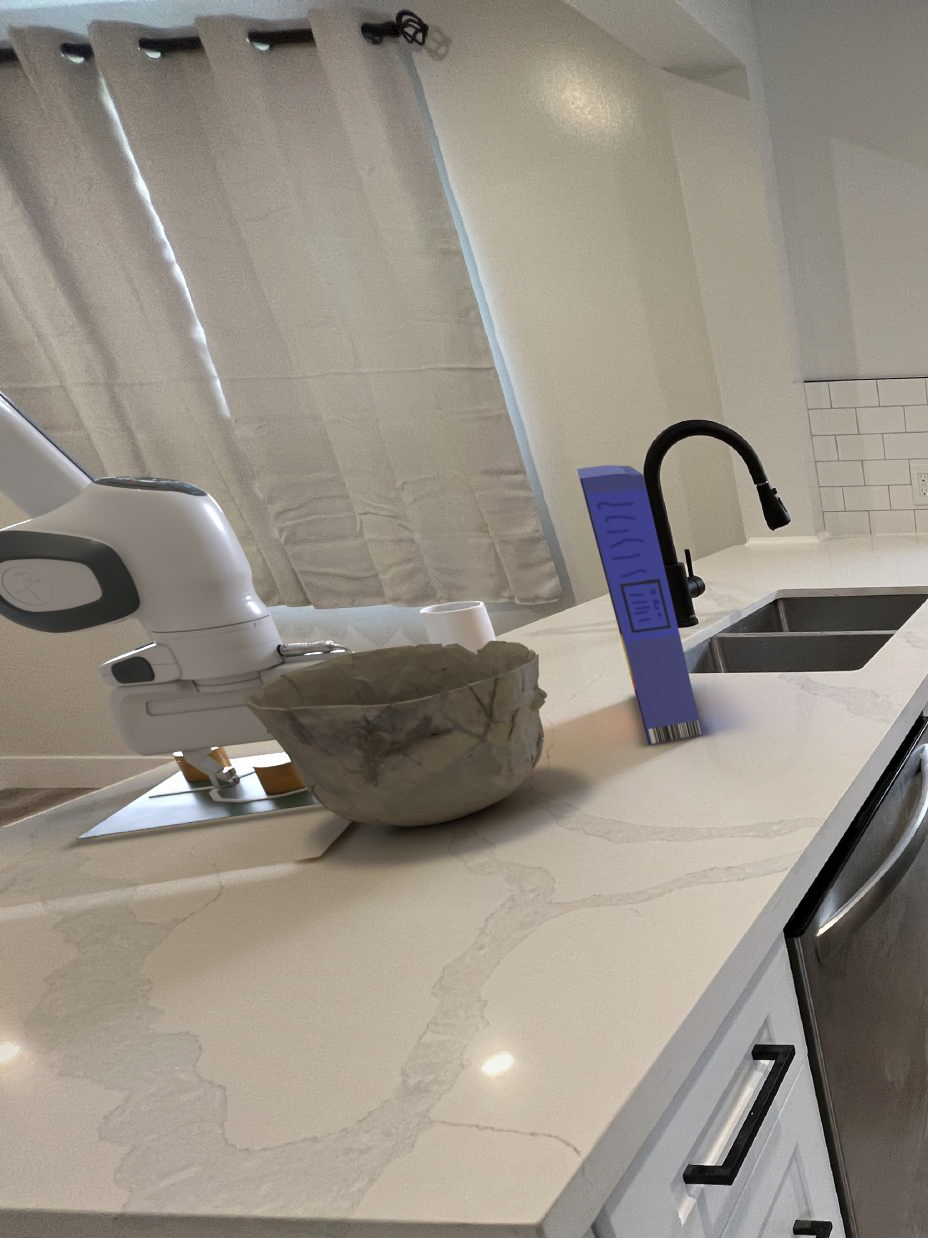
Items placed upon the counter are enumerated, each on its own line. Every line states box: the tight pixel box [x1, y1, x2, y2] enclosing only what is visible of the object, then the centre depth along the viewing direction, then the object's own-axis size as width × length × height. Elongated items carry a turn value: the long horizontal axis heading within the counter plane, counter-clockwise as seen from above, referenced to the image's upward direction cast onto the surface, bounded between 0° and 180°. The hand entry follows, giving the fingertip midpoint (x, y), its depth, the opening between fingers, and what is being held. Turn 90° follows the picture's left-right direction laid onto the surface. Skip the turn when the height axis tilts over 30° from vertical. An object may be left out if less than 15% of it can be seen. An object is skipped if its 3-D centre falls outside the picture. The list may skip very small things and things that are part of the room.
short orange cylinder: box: [172, 746, 233, 781], centre depth 94 cm, size 4×4×3 cm
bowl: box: [244, 640, 548, 828], centre depth 82 cm, size 22×22×15 cm
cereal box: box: [576, 464, 703, 746], centre depth 104 cm, size 22×6×30 cm, turn 28°
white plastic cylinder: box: [420, 600, 497, 654], centre depth 108 cm, size 7×7×15 cm
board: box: [76, 751, 321, 840], centre depth 92 cm, size 20×20×1 cm
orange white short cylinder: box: [252, 754, 305, 794], centre depth 90 cm, size 4×4×3 cm
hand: (283, 778), depth 90 cm, fingers open, 8 cm apart
